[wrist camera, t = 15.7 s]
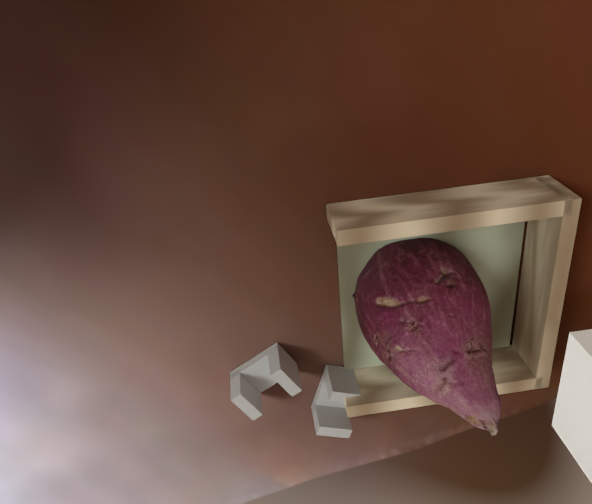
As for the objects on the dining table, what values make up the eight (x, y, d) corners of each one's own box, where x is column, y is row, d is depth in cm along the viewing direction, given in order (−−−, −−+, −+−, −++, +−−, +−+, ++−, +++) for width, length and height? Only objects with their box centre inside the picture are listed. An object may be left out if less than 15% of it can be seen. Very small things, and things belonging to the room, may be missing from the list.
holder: (338, 380, 50) (347, 417, 46) (326, 204, 41) (336, 230, 37) (523, 353, 51) (548, 387, 47) (548, 175, 42) (582, 198, 38)
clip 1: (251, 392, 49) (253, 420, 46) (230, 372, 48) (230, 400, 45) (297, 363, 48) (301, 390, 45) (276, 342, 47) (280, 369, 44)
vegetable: (467, 282, 50) (590, 416, 39) (369, 344, 50) (463, 494, 39) (438, 204, 43) (578, 341, 32) (324, 277, 43) (424, 437, 32)
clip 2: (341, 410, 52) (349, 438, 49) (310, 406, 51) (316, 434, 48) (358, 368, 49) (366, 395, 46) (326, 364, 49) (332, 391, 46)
